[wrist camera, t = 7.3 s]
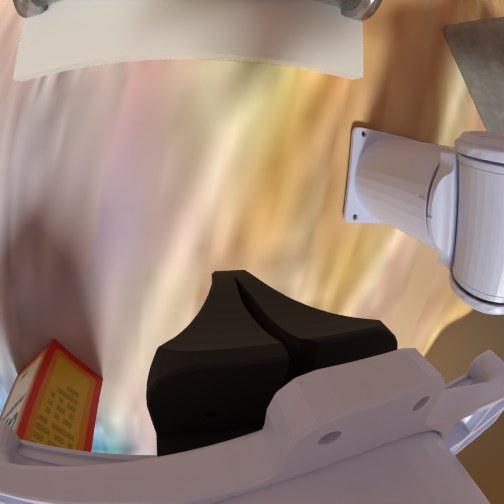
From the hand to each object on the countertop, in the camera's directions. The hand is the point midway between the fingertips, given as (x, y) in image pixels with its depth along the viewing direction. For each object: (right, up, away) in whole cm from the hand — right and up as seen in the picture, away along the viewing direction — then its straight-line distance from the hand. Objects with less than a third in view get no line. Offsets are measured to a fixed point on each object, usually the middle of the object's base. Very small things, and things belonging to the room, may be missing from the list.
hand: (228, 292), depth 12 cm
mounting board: (-3, +21, +2) cm, 22 cm away
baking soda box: (-20, -11, +12) cm, 26 cm away
